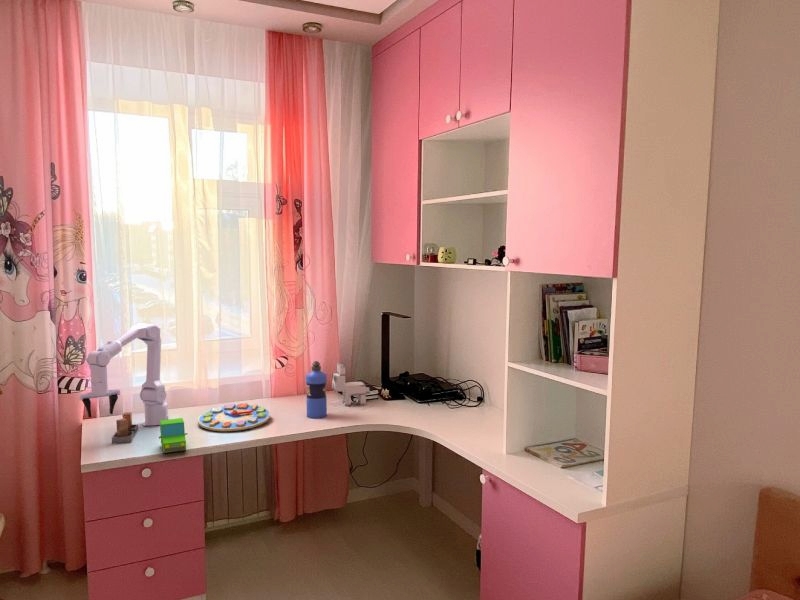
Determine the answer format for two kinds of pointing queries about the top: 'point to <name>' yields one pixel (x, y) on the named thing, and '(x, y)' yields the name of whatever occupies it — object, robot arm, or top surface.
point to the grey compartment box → (131, 430)
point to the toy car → (172, 435)
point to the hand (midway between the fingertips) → (100, 415)
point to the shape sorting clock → (234, 417)
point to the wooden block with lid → (122, 427)
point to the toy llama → (348, 387)
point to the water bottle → (316, 392)
